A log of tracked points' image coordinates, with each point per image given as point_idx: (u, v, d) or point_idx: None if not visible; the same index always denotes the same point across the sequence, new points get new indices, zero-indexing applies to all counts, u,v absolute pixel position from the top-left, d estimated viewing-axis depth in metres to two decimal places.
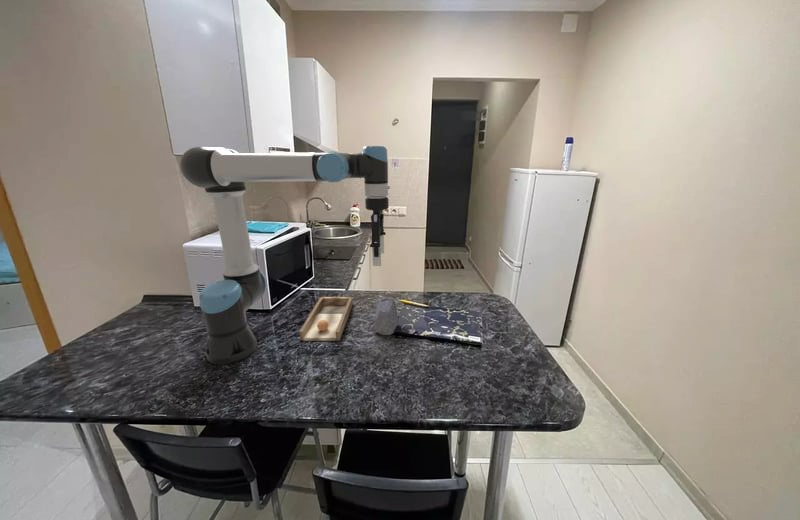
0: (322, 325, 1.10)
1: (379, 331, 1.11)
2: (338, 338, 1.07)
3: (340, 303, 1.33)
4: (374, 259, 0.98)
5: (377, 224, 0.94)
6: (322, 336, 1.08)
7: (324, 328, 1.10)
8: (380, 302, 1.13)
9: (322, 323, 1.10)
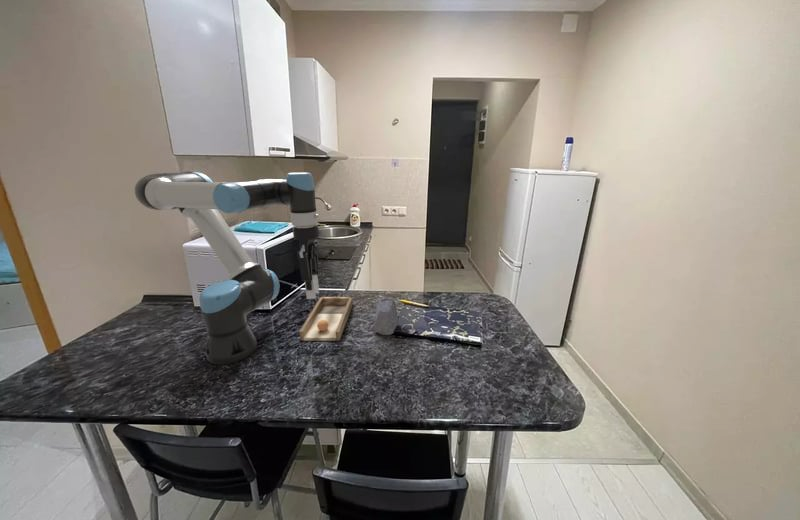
0: (322, 325, 1.10)
1: (379, 331, 1.11)
2: (338, 338, 1.07)
3: (340, 303, 1.33)
4: (308, 292, 0.97)
5: (304, 260, 0.90)
6: (322, 336, 1.08)
7: (324, 328, 1.10)
8: (380, 302, 1.13)
9: (322, 323, 1.10)
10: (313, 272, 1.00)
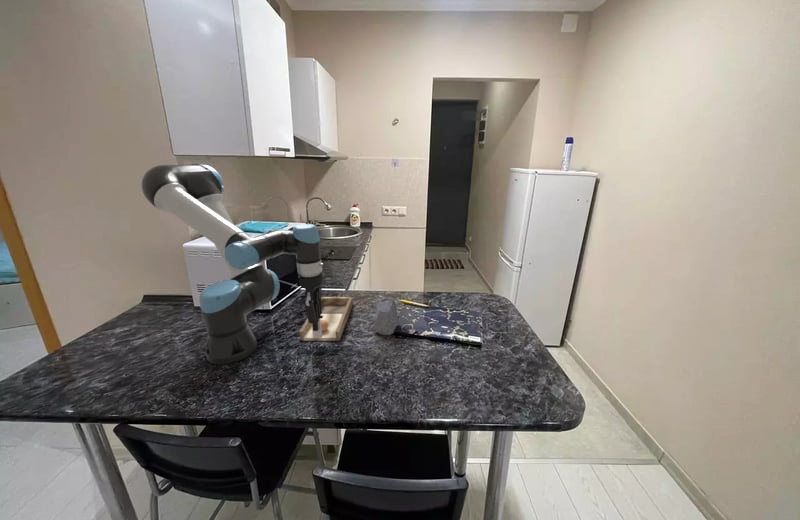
0: (322, 325, 1.10)
1: (379, 331, 1.11)
2: (338, 338, 1.07)
3: (340, 303, 1.33)
4: (314, 332, 1.04)
5: (311, 308, 0.96)
6: (322, 336, 1.08)
7: (324, 328, 1.10)
8: (380, 302, 1.13)
9: (322, 323, 1.10)
10: None
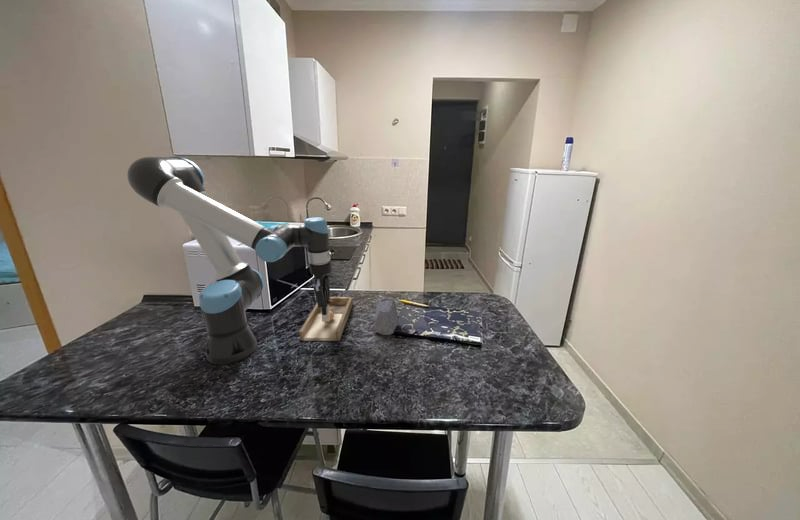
0: None
1: (379, 331, 1.11)
2: (338, 338, 1.07)
3: (340, 303, 1.33)
4: (323, 316, 1.14)
5: (320, 293, 1.06)
6: (322, 336, 1.08)
7: None
8: (380, 302, 1.13)
9: None
10: None
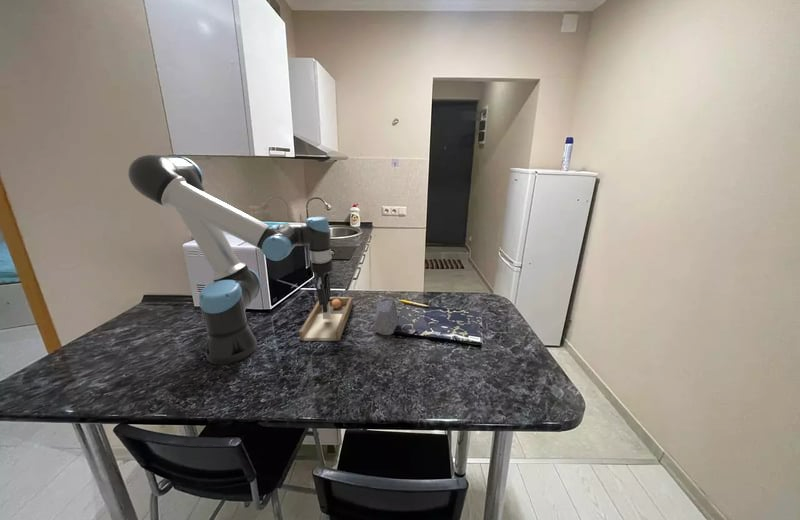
0: None
1: (379, 331, 1.11)
2: (338, 338, 1.07)
3: None
4: (324, 313, 1.16)
5: (321, 291, 1.08)
6: (322, 336, 1.08)
7: None
8: (380, 302, 1.13)
9: None
10: None
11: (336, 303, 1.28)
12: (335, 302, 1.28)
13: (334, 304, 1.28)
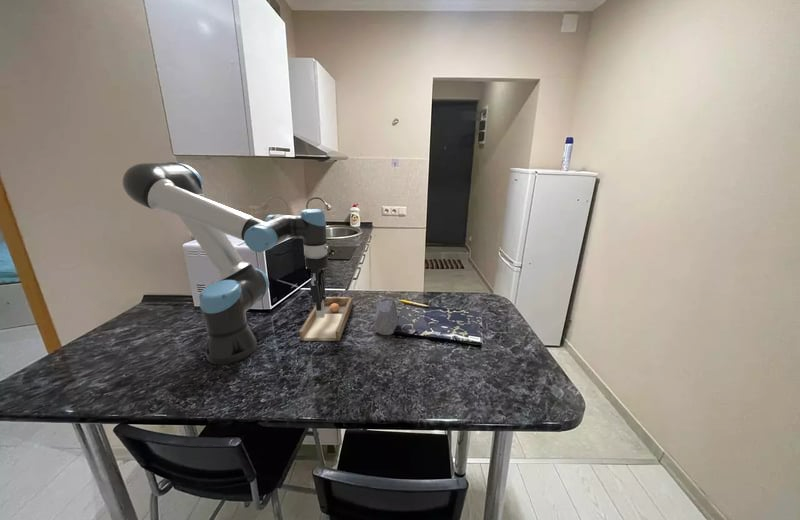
0: (335, 303, 1.26)
1: (379, 331, 1.11)
2: (338, 338, 1.07)
3: (340, 303, 1.33)
4: (317, 312, 1.10)
5: (315, 288, 1.02)
6: (322, 336, 1.08)
7: (336, 305, 1.25)
8: (380, 302, 1.13)
9: None
10: None
11: None
12: None
13: None
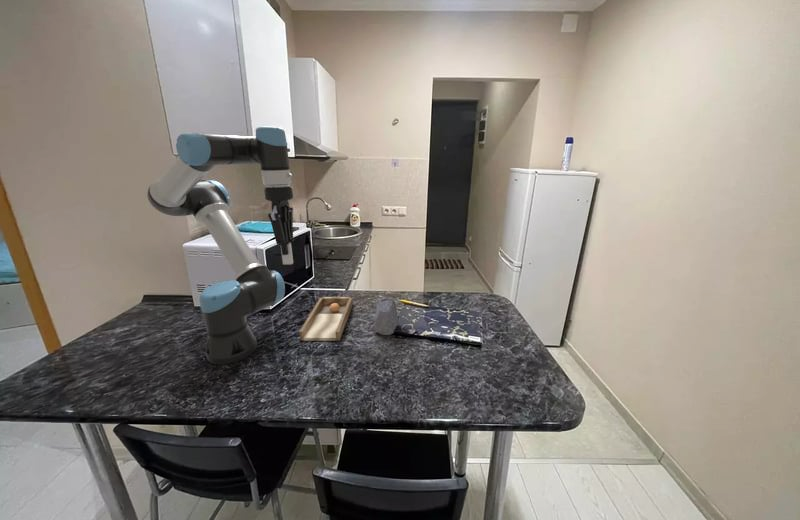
0: (335, 303, 1.27)
1: (379, 331, 1.11)
2: (338, 338, 1.07)
3: (340, 303, 1.33)
4: (284, 257, 0.93)
5: (277, 223, 0.85)
6: (322, 336, 1.08)
7: (336, 304, 1.25)
8: (380, 302, 1.13)
9: None
10: None
11: None
12: None
13: None
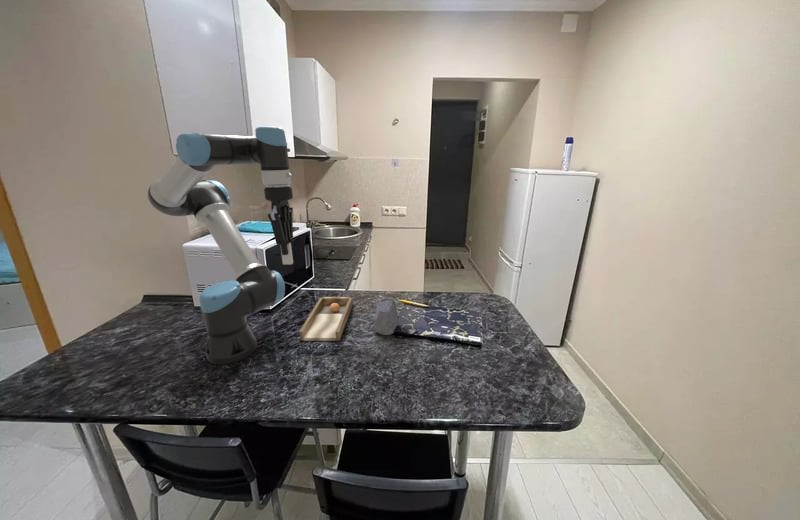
0: (335, 303, 1.27)
1: (379, 331, 1.11)
2: (338, 338, 1.07)
3: (340, 303, 1.33)
4: (284, 257, 0.93)
5: (277, 223, 0.85)
6: (322, 336, 1.08)
7: (336, 304, 1.26)
8: (380, 302, 1.13)
9: None
10: None
11: None
12: None
13: None
